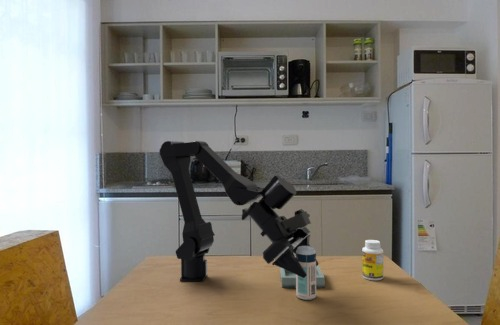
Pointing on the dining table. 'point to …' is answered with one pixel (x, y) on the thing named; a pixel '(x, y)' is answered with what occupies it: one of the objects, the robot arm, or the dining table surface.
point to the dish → (290, 278)
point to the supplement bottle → (372, 260)
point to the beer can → (308, 263)
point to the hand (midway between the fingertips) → (311, 270)
